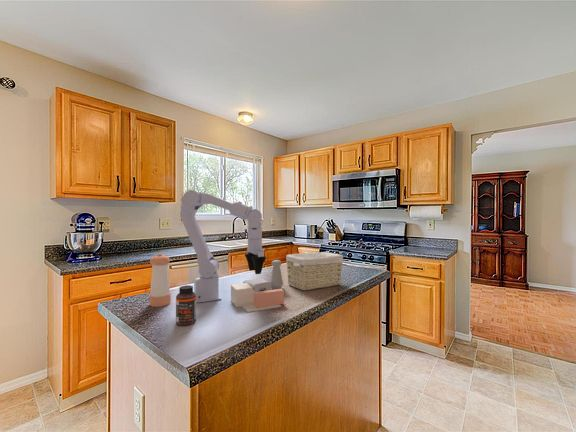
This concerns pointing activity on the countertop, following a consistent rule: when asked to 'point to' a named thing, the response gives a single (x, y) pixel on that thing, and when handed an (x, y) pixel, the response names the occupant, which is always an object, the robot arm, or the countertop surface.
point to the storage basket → (314, 270)
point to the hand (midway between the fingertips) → (255, 272)
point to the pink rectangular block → (268, 298)
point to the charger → (259, 284)
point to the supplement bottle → (185, 306)
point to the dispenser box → (242, 294)
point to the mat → (252, 308)
